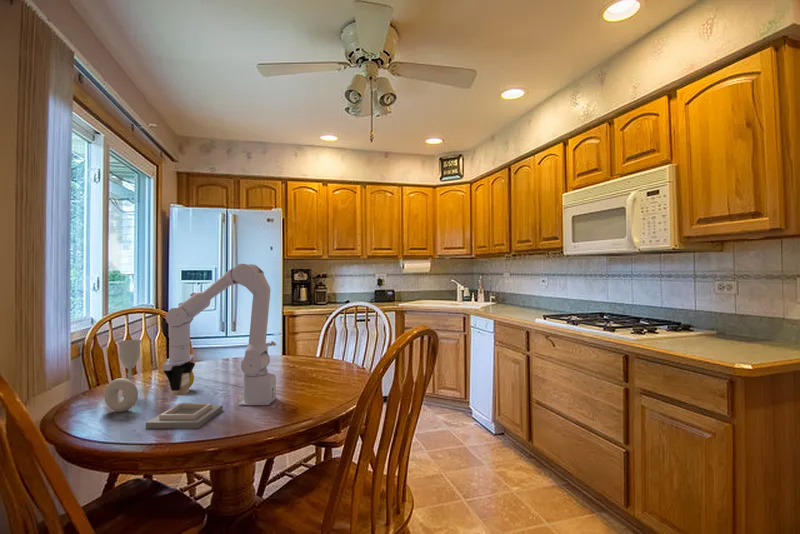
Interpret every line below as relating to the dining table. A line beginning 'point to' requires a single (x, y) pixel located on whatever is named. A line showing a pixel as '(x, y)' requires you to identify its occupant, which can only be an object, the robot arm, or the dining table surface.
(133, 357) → the chalice
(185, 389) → the block
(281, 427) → the dining table surface
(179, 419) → the base
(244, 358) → the robot arm
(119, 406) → the donut
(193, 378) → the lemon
